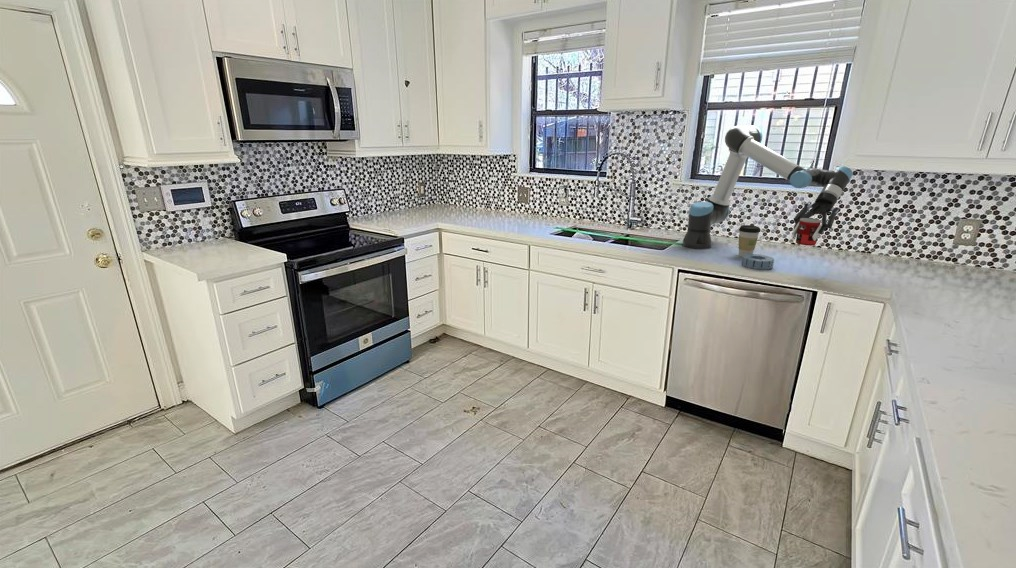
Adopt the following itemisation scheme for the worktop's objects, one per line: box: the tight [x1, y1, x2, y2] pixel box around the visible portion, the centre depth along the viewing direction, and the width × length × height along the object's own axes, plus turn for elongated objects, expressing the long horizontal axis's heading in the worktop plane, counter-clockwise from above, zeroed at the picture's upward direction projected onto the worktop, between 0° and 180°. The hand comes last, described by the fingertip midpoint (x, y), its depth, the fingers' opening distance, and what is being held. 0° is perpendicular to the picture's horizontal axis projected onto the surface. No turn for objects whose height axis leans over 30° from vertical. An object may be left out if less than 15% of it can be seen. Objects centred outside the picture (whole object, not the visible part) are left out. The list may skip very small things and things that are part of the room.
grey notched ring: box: [741, 253, 775, 271], centre depth 221 cm, size 13×13×4 cm
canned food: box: [795, 217, 822, 247], centre depth 207 cm, size 8×8×11 cm
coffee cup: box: [738, 224, 761, 258], centre depth 236 cm, size 10×10×15 cm
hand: (803, 236), depth 206 cm, fingers closed on canned food, 8 cm apart
